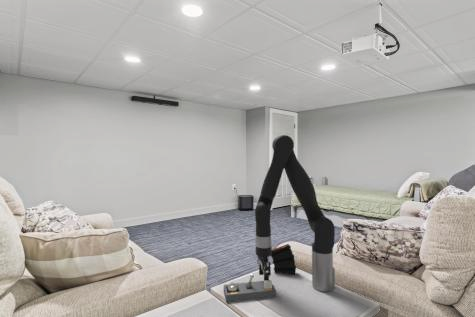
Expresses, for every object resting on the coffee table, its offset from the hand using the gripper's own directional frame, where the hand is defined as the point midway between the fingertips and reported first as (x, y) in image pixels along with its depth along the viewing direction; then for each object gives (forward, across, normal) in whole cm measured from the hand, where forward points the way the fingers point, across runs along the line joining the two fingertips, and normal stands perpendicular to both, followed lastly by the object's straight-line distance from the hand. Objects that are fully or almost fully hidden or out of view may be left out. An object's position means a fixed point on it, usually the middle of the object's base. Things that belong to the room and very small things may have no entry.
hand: (263, 278), depth 124 cm
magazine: (+4, +13, -14) cm, 19 cm away
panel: (+4, -4, +8) cm, 10 cm away
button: (+2, -4, +16) cm, 16 cm away
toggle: (0, -4, +8) cm, 9 cm away
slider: (+1, -7, 0) cm, 7 cm away
